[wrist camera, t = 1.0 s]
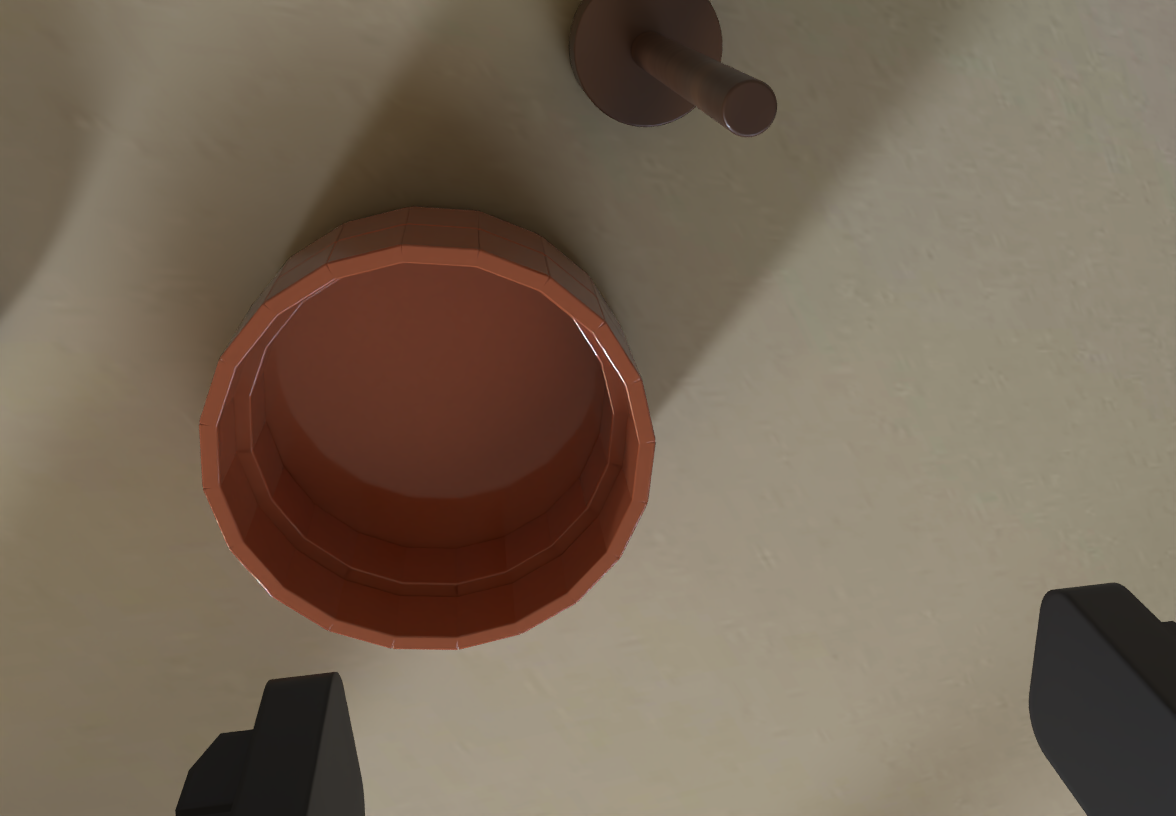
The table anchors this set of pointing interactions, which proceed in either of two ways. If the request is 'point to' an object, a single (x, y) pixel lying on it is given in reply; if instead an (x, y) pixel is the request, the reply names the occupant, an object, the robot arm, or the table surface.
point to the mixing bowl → (428, 432)
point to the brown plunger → (663, 65)
